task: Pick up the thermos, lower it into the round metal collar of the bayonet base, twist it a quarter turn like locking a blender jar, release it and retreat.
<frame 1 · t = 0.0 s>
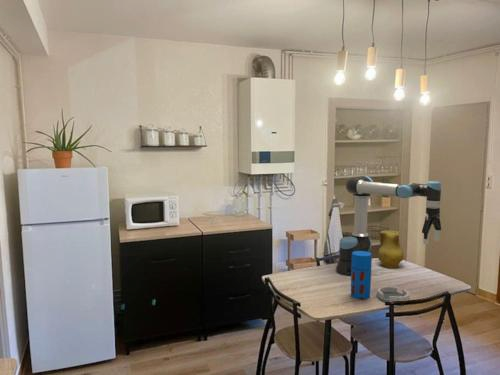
hand: (431, 242, 232), 28 cm above the table, fingers open, 13 cm apart
bayonet base: (393, 298, 218), on the table
pitcher: (390, 265, 278), on the table
thermos: (360, 296, 221), on the table
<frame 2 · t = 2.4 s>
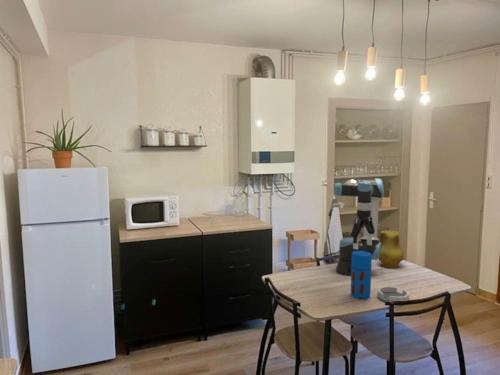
hand: (362, 246, 218), 29 cm above the table, fingers open, 13 cm apart
nothing on the table moved.
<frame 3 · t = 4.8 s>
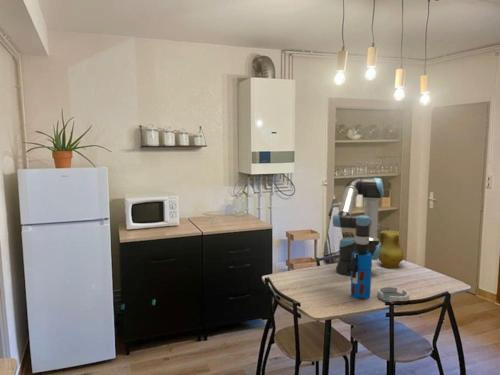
hand: (360, 280, 220), 9 cm above the table, fingers closed on thermos, 11 cm apart
thermos: (360, 296, 221), on the table, touching gripper
everything else where it was.
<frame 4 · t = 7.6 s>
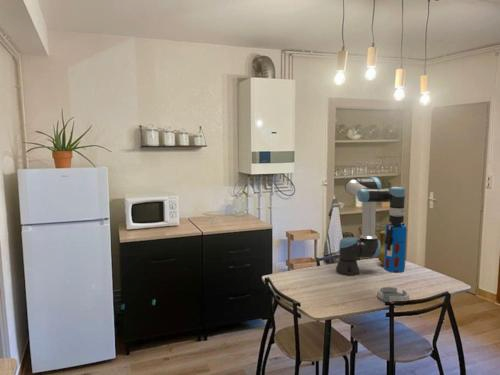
hand: (394, 254, 215), 26 cm above the table, fingers closed on thermos, 11 cm apart
thermos: (394, 270, 216), point 16 cm above the table, touching gripper
everything else where it was.
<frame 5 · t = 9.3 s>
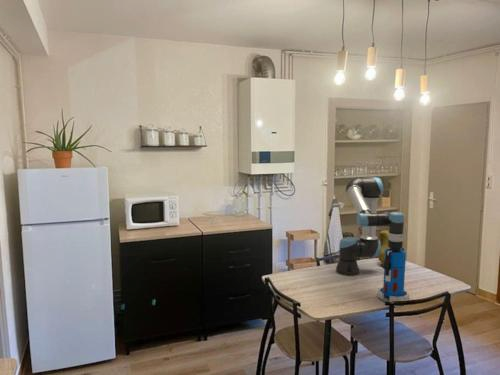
hand: (393, 278, 216), 11 cm above the table, fingers closed on thermos, 11 cm apart
thermos: (393, 294, 217), point 2 cm above the table, touching gripper
everything else where it was.
when the fingers open (10 cm above the table, at t = 10.5 s): thermos stays where it is, resting on bayonet base.
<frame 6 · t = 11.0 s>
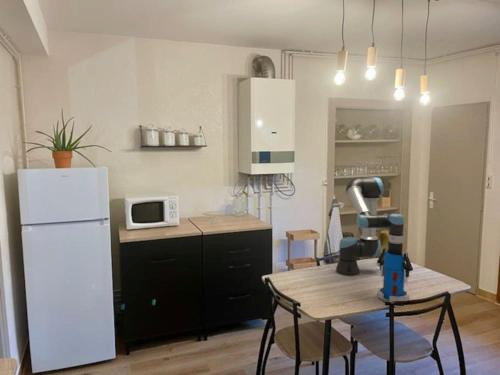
hand: (393, 279, 216), 11 cm above the table, fingers open, 13 cm apart
thermos: (392, 297, 218), point 1 cm above the table, touching bayonet base
everything else where it was.
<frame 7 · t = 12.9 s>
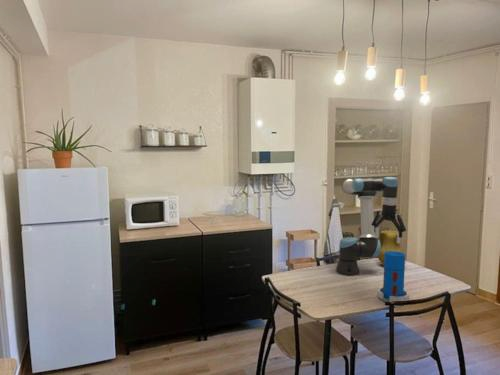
hand: (387, 240, 223), 31 cm above the table, fingers open, 13 cm apart
nothing on the table moved.
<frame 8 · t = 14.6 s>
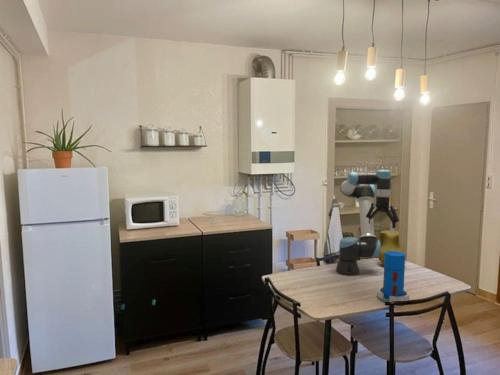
hand: (381, 231, 230), 35 cm above the table, fingers open, 13 cm apart
nothing on the table moved.
at the end: thermos 0.1 cm from the bayonet base (horizontally); thermos point 0.8 cm above the table; thermos tilted 0° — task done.
